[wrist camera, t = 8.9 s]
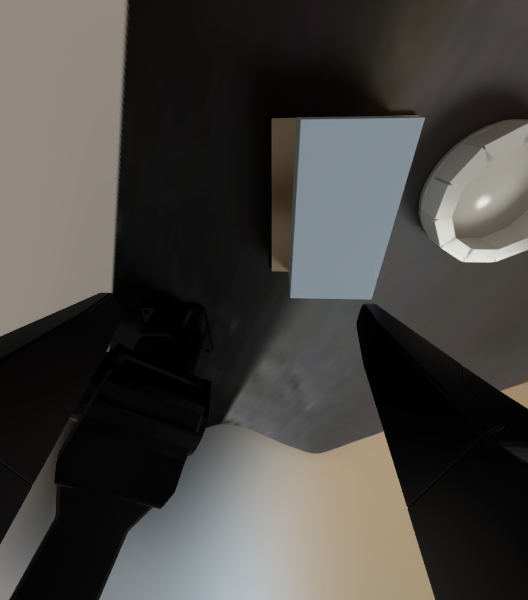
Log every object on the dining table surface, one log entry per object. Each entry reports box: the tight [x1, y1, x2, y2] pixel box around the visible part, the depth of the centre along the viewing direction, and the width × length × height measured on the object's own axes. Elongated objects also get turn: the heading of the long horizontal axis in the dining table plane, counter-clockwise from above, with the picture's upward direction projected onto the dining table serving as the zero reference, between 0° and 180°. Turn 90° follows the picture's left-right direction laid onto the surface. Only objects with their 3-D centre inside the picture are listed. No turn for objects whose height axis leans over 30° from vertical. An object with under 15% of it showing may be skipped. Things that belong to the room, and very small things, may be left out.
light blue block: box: [289, 116, 425, 299], centre depth 17 cm, size 11×6×4 cm, turn 1°
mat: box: [272, 115, 420, 271], centre depth 19 cm, size 11×9×1 cm
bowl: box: [419, 119, 528, 262], centre depth 17 cm, size 8×8×3 cm
